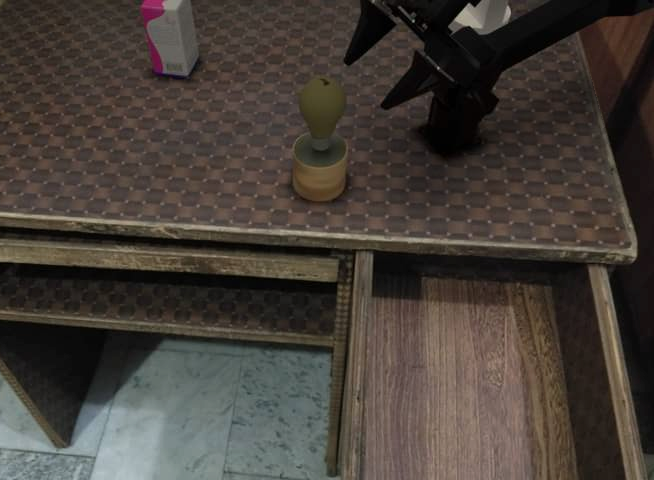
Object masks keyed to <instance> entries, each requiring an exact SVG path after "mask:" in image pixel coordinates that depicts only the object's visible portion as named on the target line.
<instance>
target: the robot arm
mask: <svg viewBox="0 0 654 480" xmlns="http://www.w3.org/2000/svg"><path fill="white" fill-rule="evenodd" d="M480 2H481V0H359V4H360V5H359V6H360V14H359V17H358V21H357V24H356V27H355V30H354V32H353V34H352V36H351V40H350V42H349V44H348V47H347V50H346V53H345V55H344V57H343V59H342V62H343V64H344V65H346V66H347V67H351V66H352V65H353V64H355V63H356V62H358V61H359V60H360V59H361V58H362V57H363V56H364V55H365V54H367V53H368V52H369V51H370V50H372V48H373V47H374V46H375V45H377V43H379V42H380V41H381V40H382V39H383V38H384V37H385V36H387V35H388V34H389V33H390V32H391V31H392V30H393V29H394V28H396V27H397V26H398V23H397V22H396V21H395V20H394V19H393V18H392V17H391V15H392V16H393V17H394V18H399V19H400V20H401V21H402V22H403V23H404V24H405V25H406V27H407V28H408V29H409V30H410V31H412V33H414V34H415V35H416V37H417V38H418V39H419V40H421V41H422V43H423V53H424V54H422V53H421V52H420V51H419V50H417V49H415V50H414V52H413V57H412V61H411V64H410V67H409V68H408V69H407V71H405V73H404V74H403V76H402V77H401V78H400V79H399V80H398V81H397V83H395V85H394V86H393V87H392V88H391V90H390V91H389V92H388V93H387V94H386V96H385V97H384V99H383V100H382V102H381V103H380V104H379V107H380V108H381V110H384V111H389V110H391V109H393V108H395V107H398V106H400V105H402V104H404V103H406V102H409V101H411V100H414V99H415V98H417V97H420V96H422V95H424V94H427V93H430V92H432V93H433V96H432V98H431V102H430V107H429V111H428V112H429V113H428V116H427V123H425V124H421V125H420V126H418V129H417V131H418V132H419V134H420V135H421V136H422V138H424V139H425V141H426V142H428V144H429V145H430V146H431V147H432V149H434V150H435V151H436V152H437V153H438V155H440V157H442V158H446V157H449V156H452V155H455V154H457V153H460V152H462V151H465V150H467V149H470V148H472V147H475V146H477V145H478V146H479V145H480V144H483V139H484V138H483V137H481V135H480V134H479V133H478V131H477V130H478V127H479V124H480V123H481V122H482V121H483V119H484V118H485V117H486V116H489V115H491V114H492V113H493V112H494V111H495V109H496V107H497V106H498V104H499V103H500V98H499V97H498V96H497V95H496V94H495V93H494V92H493V91H492V90H493V89H494V87H495V86H496V84H497V82H498V81H499V79H500V77H501V75H502V74H503V73H504V72H505V71H507V70H508V69H511V68H512V67H514V66H516V65H518V64H519V63H522V62H524V61H526V60H527V59H529V58H531V57H533V56H535V55H536V54H539V53H541V52H542V51H544V50H545V49H548V48H550V47H551V46H553V45H556V44H557V43H559V42H561V41H562V40H565V39H566V38H568V37H570V36H572V35H574V34H576V33H578V32H580V31H582V30H583V29H585V28H587V27H589V26H591V25H593V24H595V23H596V22H598V21H600V20H602V19H604V18H615V17H633V16H636V15H639V14H641V13H644V12H646V11H649V10H652V9H654V0H548V1H547V2H544V3H543V4H541V5H539V6H537V7H536V8H533V9H532V10H529V11H528V12H526V13H524V14H522V15H520V16H518V17H517V18H515V19H513V20H511V21H510V22H509V21H508V23H507V24H506V25H504V26H502V27H500V28H498V29H496V30H494V31H493V32H491V33H488V34H483V35H479V34H478V33H477V32H476V31H475V30H474V29H473V28H472V27H471V26H466V27H462V28H461V29H459V30H458V31H456V32H455V33H453V31H452V30H451V29H450V28H449V27H448V26H449V25H450V24H451V23H452V22H453V20H454V19H455V18H456V17H457V16H458V15H459V14H460V13H461V11H462V10H463V9H464V8H465V7H466V6H467V5H468V3H470V4H471V5H472V6H473V7H474V8H475V7H476V6H477V5H478V4H479V3H480ZM412 14H415V16H414V17H413V16H412ZM423 25H424V26H426V28H425V27H424V26H423ZM452 33H453V34H452ZM451 34H452V35H451Z"/></svg>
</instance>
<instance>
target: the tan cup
mask: <svg viewBox="0 0 654 480" xmlns="http://www.w3.org/2000/svg"><path fill="white" fill-rule="evenodd" d="M291 149H292V185H293V189H294V190H295V192H296V194H298V195H299V196H300V197H301V198H303V199H305V200H308V201H310V202H327V201H331V200H333V199H335V198H337V197H339V196H340V195H341V194H342V193H343V191H344V190H345V188H346V182H347V181H346V180H347V171H348V170H347V168H348V157H349V156H348V155H349V146H348V143H347V142H346V140H345V139H344V138H343V137H342V136H341V135H340V134H337V133H336V132H333V134H332V135H331V145H330V147H329V148H328V149H326V150H321V151H320V150H316V149H314V148H313V147H312V145H311V133H310V131H308V132H305V133H303V134H302V135H300V136H299V137H298V138H296V140H295V141H294V143H293V145H292V148H291Z"/></svg>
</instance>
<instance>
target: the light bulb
mask: <svg viewBox="0 0 654 480" xmlns="http://www.w3.org/2000/svg"><path fill="white" fill-rule="evenodd" d="M347 98H348V97H347V93H346V91H345V88H344V87H343V85H342V84H341V83H340V82H339V81H338V80H337V79H335V78H334V77H331V76H326V75H320V76H316V77H313V78H311V79H310V80H309V81H307V82H306V83H305V84H304V85H303V87H302V88H301V90H300V93H299V97H298V108H299V112H300V115H301V117H302V118H303V120H304V121H305V123H306V124H307V127H308V130H309V131H308V132H310V133H311V145H312V147H313V148H314V149H316V150H320V151H321V150H326V149H328V148H329V147H330V145H331V135H332V134H333V133H335V130H336V126H337V124H338V123H339V122H340V120H341V119H342V117H343V115H344V114H345V112H346V109H347V102H348V101H347V100H348V99H347Z"/></svg>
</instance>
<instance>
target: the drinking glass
mask: <svg viewBox="0 0 654 480" xmlns="http://www.w3.org/2000/svg"><path fill="white" fill-rule="evenodd" d="M509 1H510V0H481V2H480V3H479V4H478V5H477V6H476V7H475V8H474V7H473V6H472V5H471V4H470V3H468V5H467V6H466V7H465V8H464V9H463V10H462V11H461V13H460V14H459V15H458V16H457V17H456V18H455V19H454V20H453V22H452V23H451V24H450V25H449V26H448V27H449V28H450V29H451V30H452V31H453V33H455V32H456V31H458V30H459V29H461V28H462V27H466V26H471V27H472V28H473V29H474V30H475V31H476V32H477V33H478V34H479V35H483V34H488V33H491V32H493V31H494V30H496V29H498V28H500V27H502V26H504V25H506V24H507V23H509V21H510V18H511V14H512V12H511V7H510V6H509ZM453 33H452V34H453ZM452 34H451V35H452Z"/></svg>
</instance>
